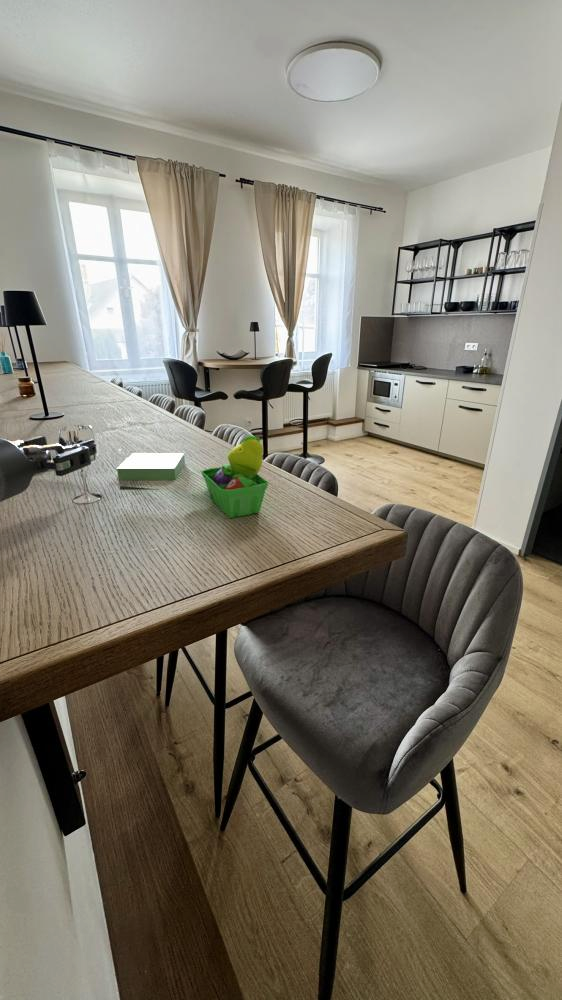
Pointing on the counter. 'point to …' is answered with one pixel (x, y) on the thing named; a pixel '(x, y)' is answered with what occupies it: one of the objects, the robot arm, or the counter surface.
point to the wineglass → (83, 433)
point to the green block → (150, 467)
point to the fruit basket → (238, 480)
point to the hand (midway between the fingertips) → (68, 444)
